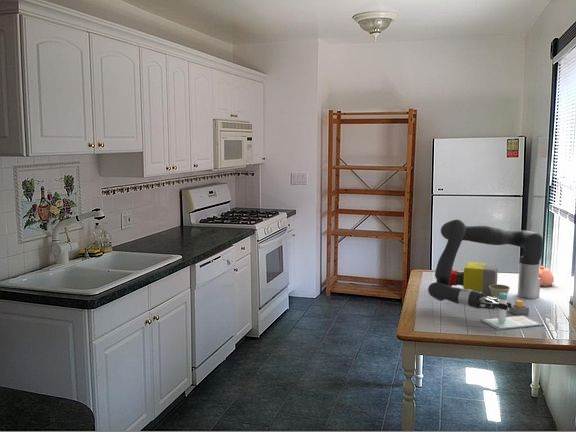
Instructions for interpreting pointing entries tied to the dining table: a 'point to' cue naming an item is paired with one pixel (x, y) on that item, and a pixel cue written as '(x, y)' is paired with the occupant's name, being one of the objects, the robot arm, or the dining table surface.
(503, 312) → the marker
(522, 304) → the button
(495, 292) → the flower pot
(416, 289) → the dining table surface
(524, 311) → the button housing
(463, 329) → the dining table surface
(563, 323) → the dining table surface
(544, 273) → the piggy bank
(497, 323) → the placemat
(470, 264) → the emergency stop button
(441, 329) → the dining table surface
